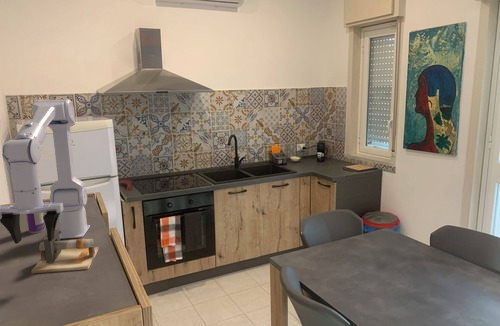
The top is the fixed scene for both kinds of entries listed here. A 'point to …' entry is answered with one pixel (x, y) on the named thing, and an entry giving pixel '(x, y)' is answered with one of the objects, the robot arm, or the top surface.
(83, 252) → the pipe stand
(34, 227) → the container
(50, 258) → the collar
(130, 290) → the top surface
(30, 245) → the top surface
